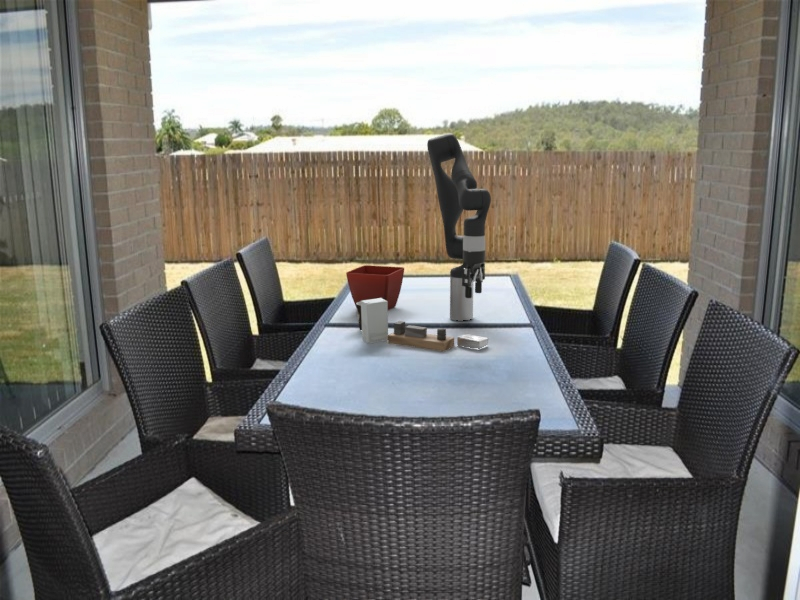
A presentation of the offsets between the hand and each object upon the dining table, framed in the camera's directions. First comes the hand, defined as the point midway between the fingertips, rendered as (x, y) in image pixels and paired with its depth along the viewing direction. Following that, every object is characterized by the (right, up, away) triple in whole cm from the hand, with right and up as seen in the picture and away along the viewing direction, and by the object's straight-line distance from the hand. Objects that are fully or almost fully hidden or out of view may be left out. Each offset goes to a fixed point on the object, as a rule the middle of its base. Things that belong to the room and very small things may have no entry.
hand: (473, 295), depth 255 cm
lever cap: (0, -18, +4) cm, 18 cm away
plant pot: (-35, -6, +61) cm, 70 cm away
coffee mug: (-37, -12, +29) cm, 49 cm away
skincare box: (-34, -16, +12) cm, 40 cm away
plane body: (-18, -17, +7) cm, 26 cm away
